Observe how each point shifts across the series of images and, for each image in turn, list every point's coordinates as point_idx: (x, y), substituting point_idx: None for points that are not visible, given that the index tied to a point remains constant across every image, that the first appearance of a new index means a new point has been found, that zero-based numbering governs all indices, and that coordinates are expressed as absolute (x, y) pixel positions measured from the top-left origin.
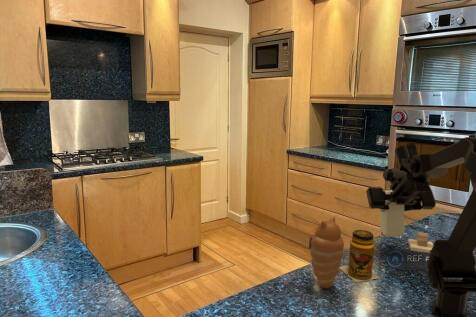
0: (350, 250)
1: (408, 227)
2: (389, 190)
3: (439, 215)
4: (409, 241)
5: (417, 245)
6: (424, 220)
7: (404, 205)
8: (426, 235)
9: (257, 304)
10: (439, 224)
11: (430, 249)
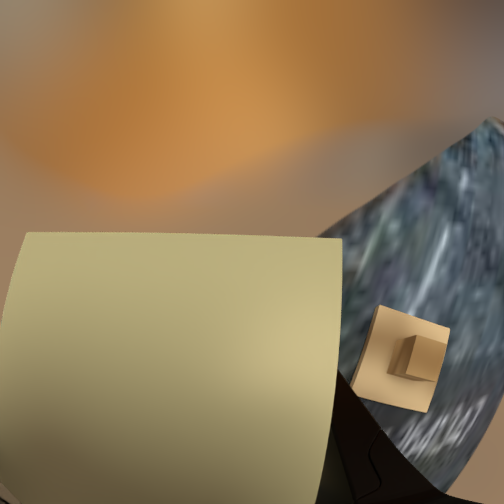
0: None
1: (417, 180)
2: (128, 238)
3: (490, 128)
4: (372, 332)
5: (385, 371)
6: (463, 144)
7: (325, 474)
8: (434, 371)
9: None
10: (492, 172)
11: (413, 404)
